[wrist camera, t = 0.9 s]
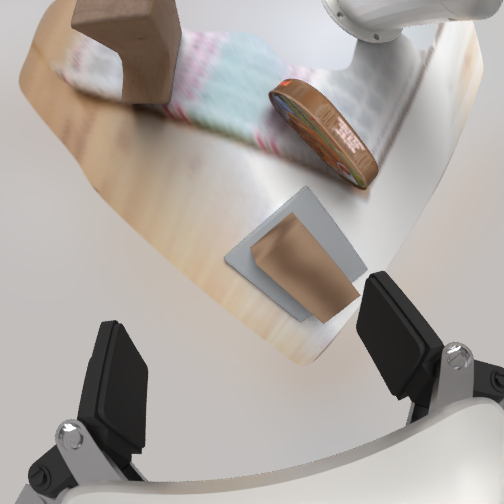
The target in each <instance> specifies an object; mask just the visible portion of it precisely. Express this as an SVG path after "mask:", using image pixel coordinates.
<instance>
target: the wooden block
mask: <svg viewBox="0 0 504 504" xmlns="http://www.w3.org/2000/svg"><path fill="white" fill-rule="evenodd" d="M71 27H72V28H73V29H75V30H77V31H79V32H81V33H83V34H84V35H86V36H88V37H90V38H92V39H94V40H96V41H97V42H99V43H101V44H103V45H105V46H106V47H108V48H110V49H112V50H113V51H115V52H117V53H118V55H119V56H120V58H121V60H122V66H123V75H124V76H123V89H122V102H123V103H125V104H137V103H154V104H167V103H169V102H170V100H171V93H172V86H173V79H174V72H175V66H176V60H177V54H178V48H179V43H180V38H181V33H182V32H181V27H180V22H179V17H178V13H177V8H176V3H175V0H77V2H76V6H75V9H74V13H73V17H72V20H71Z"/></svg>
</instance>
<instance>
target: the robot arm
mask: <svg viewBox="0 0 504 504" xmlns="http://www.w3.org/2000/svg"><path fill="white" fill-rule="evenodd" d="M322 2H323V5H324V7H325V9H326V10H327V12H328V14H329V15H330V16H331V18H332V19H333V20H334V21H335V22H336V23H337V24H338V25H339V26H340V27H341V28H342V29H343V30H345V31H346V32H347V33H349V34H350V35H352V36H354V37H356V38H358V39H360V40H362V41H366V42H370V43H385V42H389V41H392V40H394V39H395V38H397V37H398V36H399V35H400V33H401V32H402V30H403V28H404V27H410V26H416V25H423V24H431V23H440V22H451V21H469V20H483V19H487V18H490V17H491V16H493V15H494V14H495V13H496V12H497V11H498V10H499V8H500V6H501V4H502V2H503V0H322ZM356 329H357V333H358V335H359V336H360V338H361V340H362V342H363V343H364V345H365V347H366V348H367V350H368V352H369V354H370V356H371V357H372V359H373V361H374V363H375V364H376V366H377V368H378V370H379V372H380V373H381V376H382V377H383V379H384V381H385V383H386V385H387V387H388V389H389V390H390V392H391V394H392V395H394V396H396V397H397V399H398V400H401V399H403V398H405V397H407V396H409V397H410V399H411V401H412V403H411V407H410V411H409V415H408V419H407V422H406V426H405V427H403V428H401V429H399V430H397V431H395V432H392V433H390V434H388V435H386V436H384V437H381V438H379V439H376V440H374V441H372V442H369V443H367V444H364V445H362V446H359V447H356V448H353V449H351V450H348V451H345V452H342V453H339V454H336V455H333V456H330V457H327V458H324V459H320V460H317V461H313V462H310V463H306V464H302V465H298V466H295V467H291V468H286V469H281V470H277V471H272V472H267V473H261V474H256V475H249V476H242V477H236V478H227V479H217V480H205V481H186V482H149V481H148V480H147V479H146V478H145V477H144V476H143V475H142V473H141V472H140V471H139V470H138V469H137V468H136V467H135V465H134V464H133V463H132V462H131V458H132V456H131V455H132V454H141V453H142V448H144V447H145V429H146V401H147V384H148V383H147V382H148V368H147V365H146V363H145V362H144V360H143V359H142V357H141V355H140V354H139V352H138V350H137V349H136V347H135V345H134V344H133V342H132V340H131V339H130V337H129V335H128V333H127V332H126V330H125V328H124V326H123V325H122V324H119V323H118V321H116V320H113V321H105V322H102V323H101V325H100V328H99V332H98V335H97V339H96V343H95V346H94V350H93V354H92V357H91V358H90V360H89V363H88V367H87V372H86V376H85V380H84V385H83V390H82V394H81V400H80V405H79V411H78V417H77V420H75V419H70V420H66V421H64V422H62V423H61V424H60V425H59V427H58V429H57V430H56V434H55V440H56V445H55V446H54V447H52V448H51V449H50V450H49V451H48V452H47V453H45V454H44V455H43V456H42V457H40V458H39V459H38V460H37V461H36V462H35V463H33V464H32V466H31V467H30V469H29V472H28V479H29V483H30V484H29V485H28V484H26V485H25V486H24V488H23V490H22V492H21V494H20V495H19V497H18V499H17V501H16V503H15V504H504V368H502V367H499V366H496V365H492V364H488V363H485V362H481V361H477V360H474V358H473V354H472V352H471V350H470V349H469V348H468V347H467V346H465V345H464V344H462V343H459V342H452V343H449V344H447V345H446V346H444V345H443V343H442V341H441V340H440V338H439V337H438V336H437V334H436V333H435V332H434V330H433V329H432V328H431V327H430V325H429V324H428V323H427V321H426V320H425V319H424V317H423V316H422V315H421V314H420V312H419V311H418V310H417V309H416V307H415V306H414V305H413V304H412V302H411V301H410V300H409V299H408V298H407V296H406V295H405V294H404V293H403V292H402V290H401V289H400V288H399V287H398V286H397V284H396V283H395V282H394V281H393V280H392V279H391V278H390V276H389V275H388V274H387V273H386V272H385V271H380V272H376V273H372V274H370V275H369V278H367V279H366V282H365V287H364V292H363V297H362V302H361V306H360V311H359V316H358V320H357V324H356Z"/></svg>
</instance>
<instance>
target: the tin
mask: <svg viewBox="0 0 504 504" xmlns="http://www.w3.org/2000/svg"><path fill="white" fill-rule="evenodd" d="M268 96H269V99H270V101H271V103H272V105H273V106H274V108H275V109H276V110H277V111H278V113H279V114H280V115H281V116H282V117H283V118H284V119H285V120H286V121H287V122H288V123H289V124H290V125H291V126H292V127H293V128H294V129H295V130H296V131H297V132H298V133H299V134H300V135H301V137H302V138H303V139H304V140H305V141H306V142H307V143H308V144H309V145H310V146H311V147H312V148H313V150H314V151H315V152H316V153H317V154H318V155H319V156H320V157H321V158H322V159H323V161H324V162H325V163H326V164H327V165H328V166H329V167H330V168H331V169H333V170H334V171H335V172H336V173H337V174H338V175H339V176H341V177H342V178H343V179H344V180H346V181H347V182H348V183H350V184H351V185H353V186H354V187H356V188H358V189H361V190H366V189H367V186H368V185H369V184H370V183H371V182H372V181H373V180H374V178H375V177H376V176H377V174H378V166H377V163H376V161H375V159H374V157H373V156H372V154H371V153H370V151H369V150H368V149H367V147H366V146H365V144H364V143H363V142H362V140H361V139H360V138H359V136H358V135H357V134H356V132H355V131H354V130H353V128H352V127H351V126H350V125H349V123H348V122H347V121H346V120H345V118H344V117H343V116H342V115H341V113H340V112H339V111H338V110H337V109H336V108H335V106H334V105H333V104H332V103H331V102H330V101H329V100H328V99H327V98H326V97H325V96H324V95H323V94H322V93H320V92H319V91H318V90H317V89H315V88H314V87H312V86H311V85H309V84H307V83H305V82H303V81H301V80H298V79H286V80H284V81H283V82H281V83H280V84H279V85H278V86H277V87H276V88H275V89H274V90H273V91H270V92H269V95H268Z"/></svg>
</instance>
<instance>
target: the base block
mask: <svg viewBox="0 0 504 504" xmlns="http://www.w3.org/2000/svg"><path fill="white" fill-rule="evenodd" d="M250 248H251V251H252V254H253V257H254V259H255V262H256V265H258V266H259V267H260V268H261V269H262V270H263V271H264V272H265V273H267V274H268V275H269V276H270V277H271V278H272V279H273V280H275V281H276V282H277V283H278V284H279V285H280V286H281V287H282V288H284V289H285V290H286V291H287V292H288V293H289V294H290V295H291V296H293V297H294V298H295V299H296V300H297V301H298V302H299V303H301V304H302V305H303V306H304V307H305V308H306V309H307V310H308V311H310V312H311V313H312V314H313V315H314V316H315V317H316V318H318V319H319V320H320V321H321V322H322V323H323V324H324V323H326V322H327V321H328V320H330V319H331V318H332V317H334V316H335V315H336V314H337V313H339V312H340V311H341V310H343V309H344V308H345V307H346V306H348V305H349V304H350V303H351V302H353V301H354V300H355V299H356V298H358V297H359V296H360V294H359V293H358V291H357V290H356V289H355V287H354V286H353V285H352V283H351V282H350V281H349V280H348V278H347V277H346V276H345V274H344V273H343V272H342V271H341V269H340V268H339V267H338V266H337V265H336V263H335V262H334V261H333V260H332V258H331V257H330V256H329V255H328V253H327V252H326V251H325V250H324V249H323V247H322V246H321V245H320V244H319V243H318V241H317V240H316V239H315V238H314V237H313V235H312V234H311V233H310V232H309V231H308V230H307V228H306V227H305V226H304V225H303V224H302V223H301V221H300V220H299V219H298V218H297V217H296V216H295V214H294V213H293V212H291V213H290V214H289V215H287V216H286V217H285V218H284V219H283V220H282V221H280V222H279V223H278V224H277V225H276V226H275V227H273V228H272V229H271V230H270V231H269V232H268V233H267V234H265V235H264V236H263V237H262V238H261V239H260V240H258V241H257V242H256V243H255V244H254V245H253V246H251V247H250Z"/></svg>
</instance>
